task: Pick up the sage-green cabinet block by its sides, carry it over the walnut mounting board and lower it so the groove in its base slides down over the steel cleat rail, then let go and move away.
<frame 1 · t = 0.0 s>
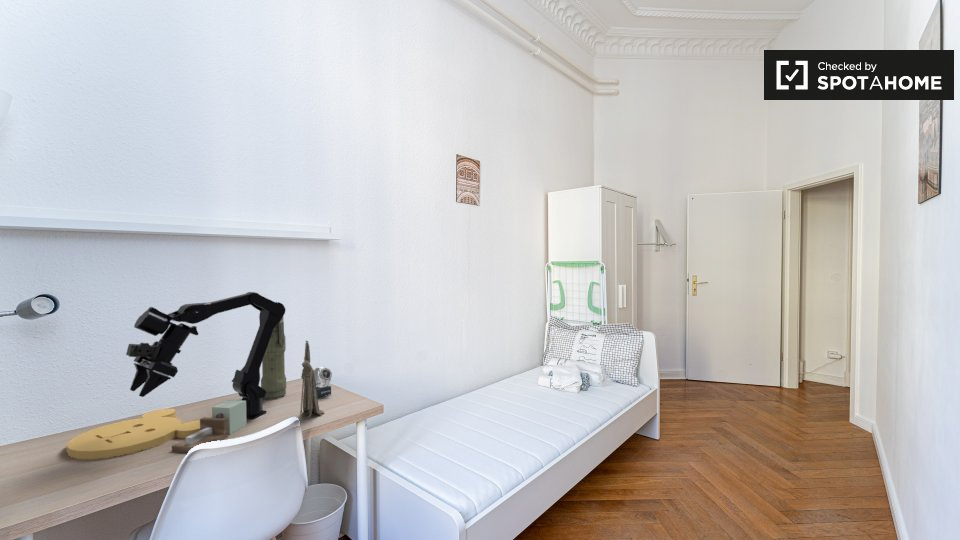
hand: (136, 393, 121), 15 cm above the table, tool tilted 35°, fingers open, 9 cm apart
decorative plaque: (136, 439, 127), on the table
watch: (321, 395, 167), on the table
wizard figurine: (310, 414, 146), on the table
cleat board: (200, 443, 122), on the table
cabinet block: (229, 429, 132), on the table
thermos: (273, 396, 167), on the table
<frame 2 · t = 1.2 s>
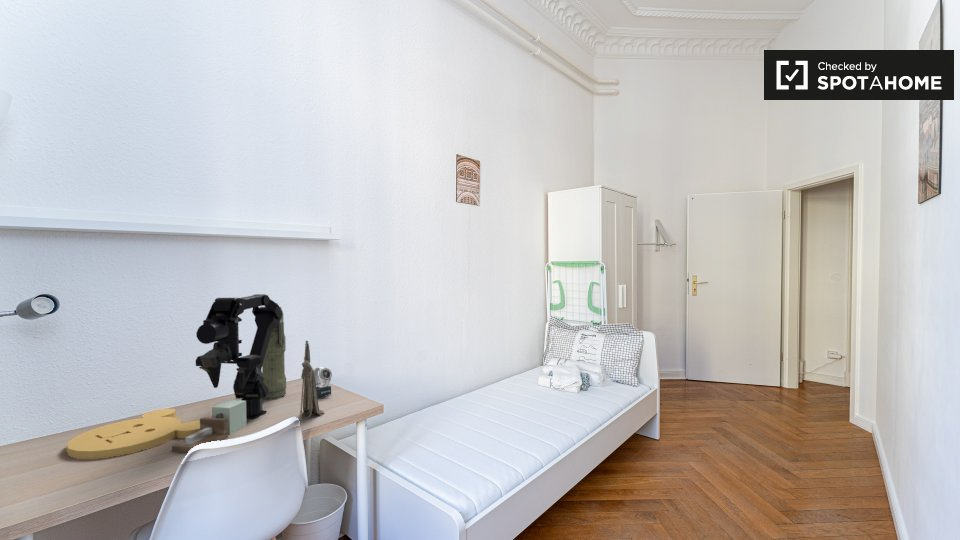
hand: (228, 388, 132), 13 cm above the table, tool pointing down, fingers open, 9 cm apart
nothing on the table moved.
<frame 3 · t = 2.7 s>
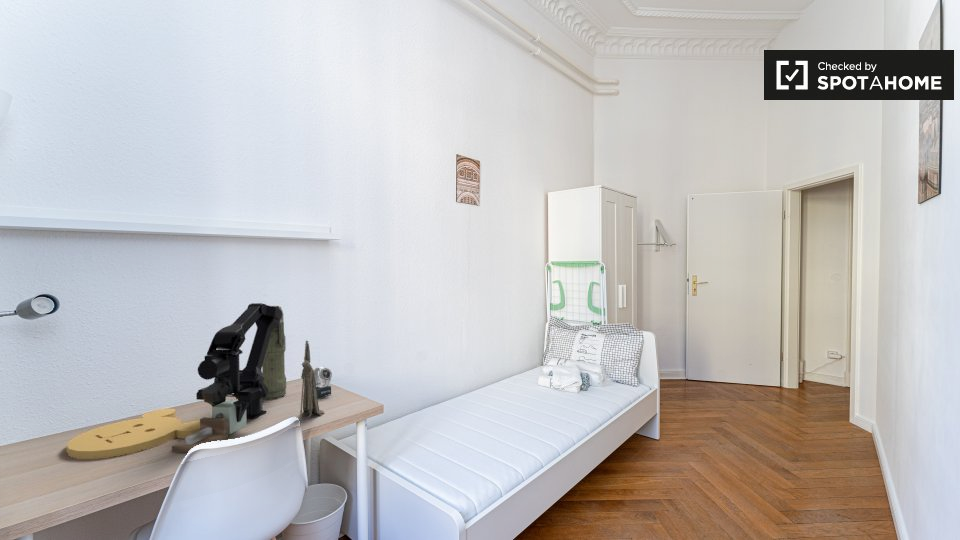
hand: (229, 421, 132), 3 cm above the table, tool pointing down, fingers closed on cabinet block, 6 cm apart
cabinet block: (229, 429, 132), on the table, touching gripper
everything else where it was.
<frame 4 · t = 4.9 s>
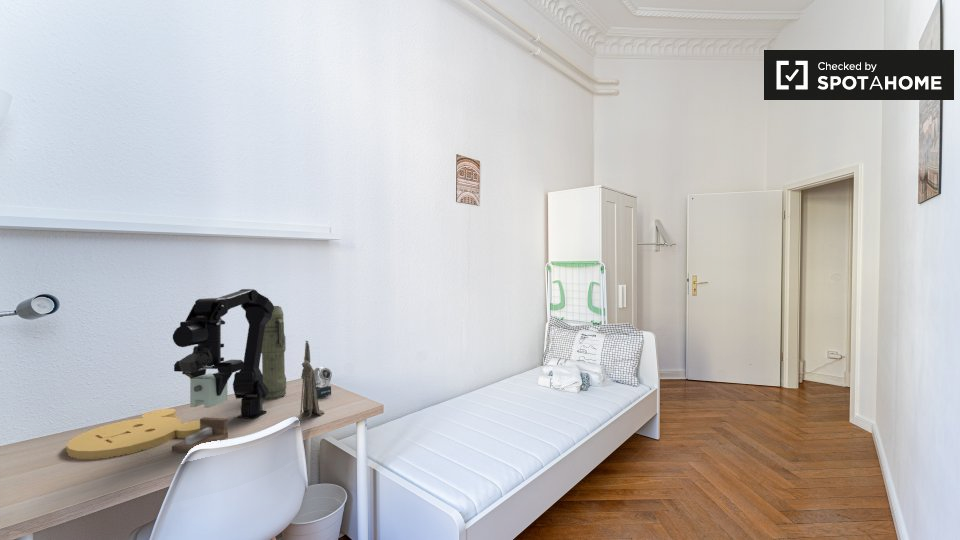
hand: (209, 395, 125), 13 cm above the table, tool pointing down, fingers closed on cabinet block, 6 cm apart
cabinet block: (209, 403, 125), point 11 cm above the table, touching gripper
everything else where it was.
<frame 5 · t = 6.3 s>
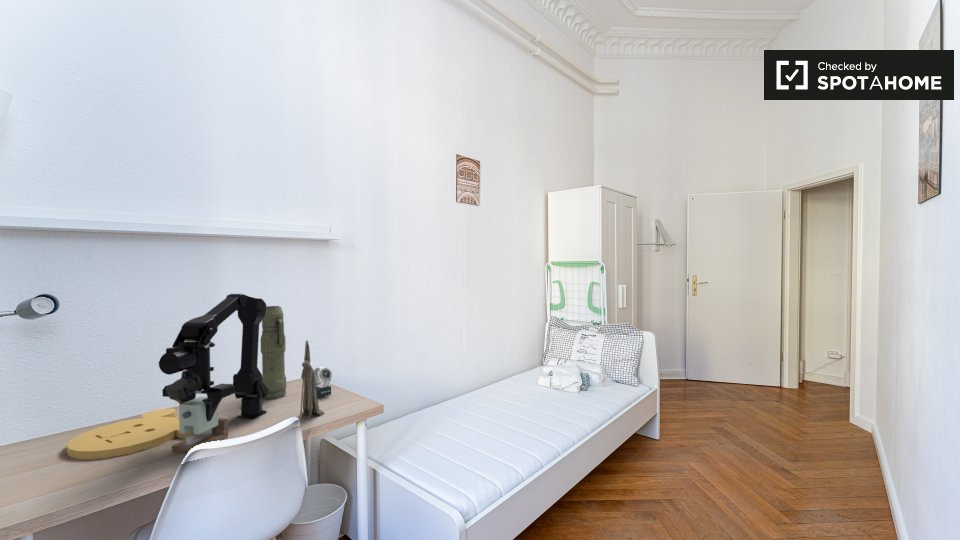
hand: (199, 420, 121), 7 cm above the table, tool pointing down, fingers closed on cabinet block, 6 cm apart
cabinet block: (199, 429, 121), point 4 cm above the table, touching gripper
everything else where it was.
when the fingers open (4 cm above the table, at t = 7.4 s): cabinet block stays where it is, resting on cleat board.
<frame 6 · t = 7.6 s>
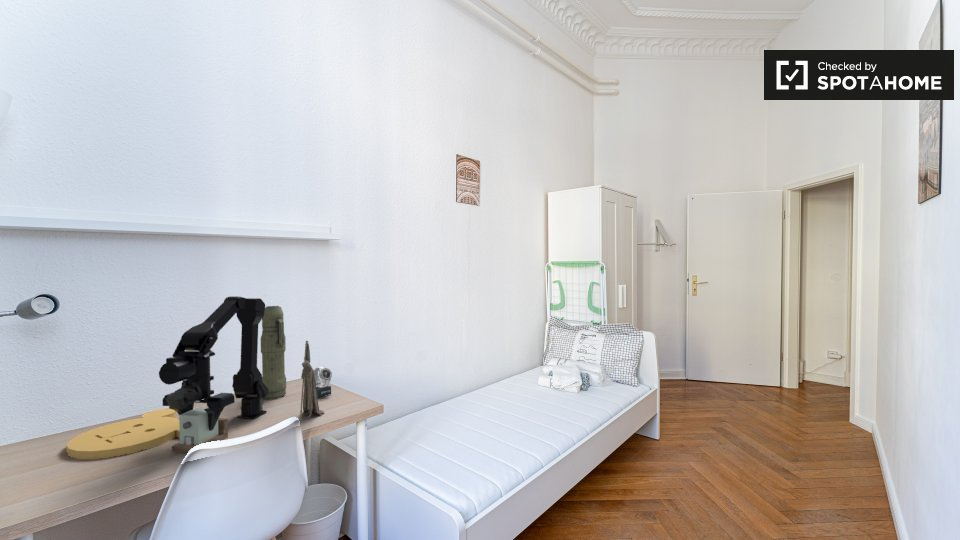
hand: (199, 429, 121), 4 cm above the table, tool pointing down, fingers open, 7 cm apart
cabinet block: (199, 439, 121), point 1 cm above the table, touching cleat board
everything else where it was.
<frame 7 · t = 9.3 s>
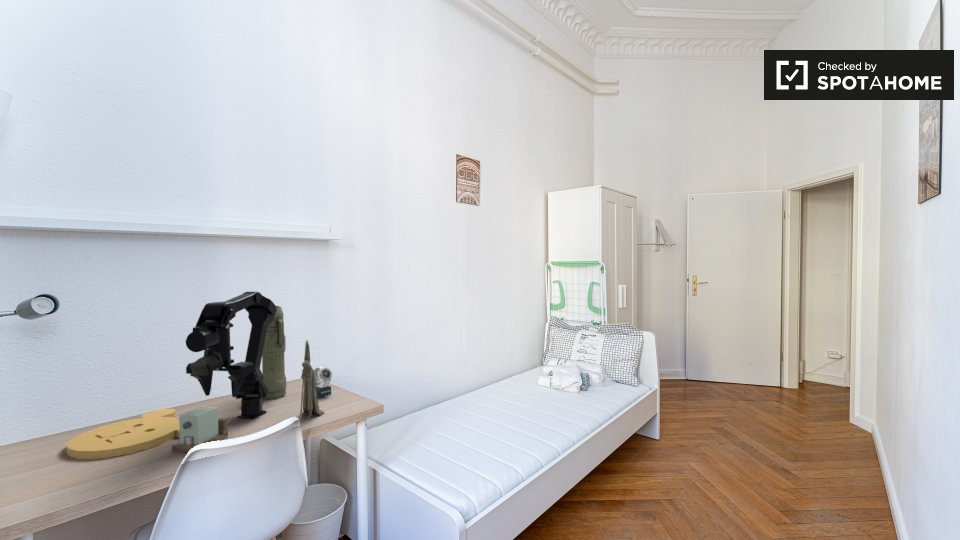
hand: (220, 396, 128), 12 cm above the table, tool pointing down, fingers open, 9 cm apart
nothing on the table moved.
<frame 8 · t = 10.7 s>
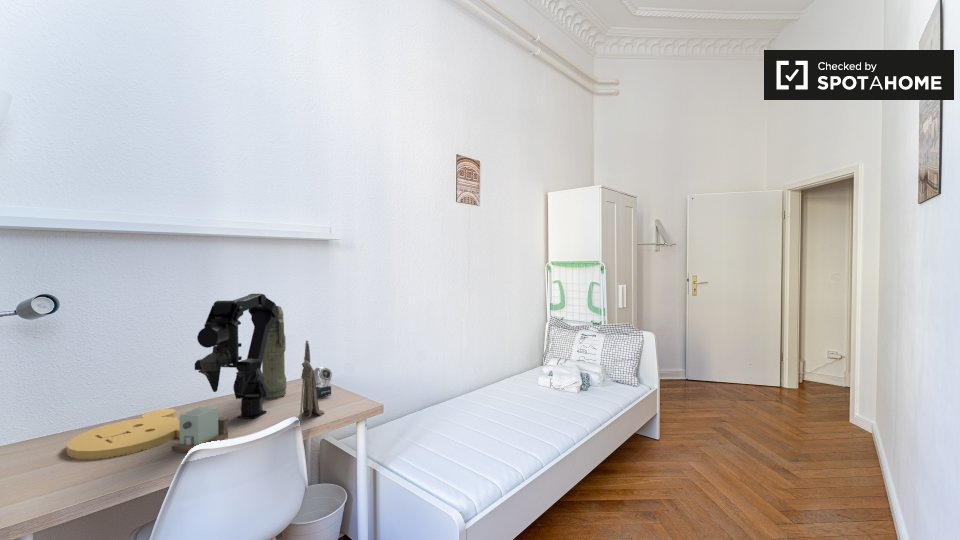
hand: (228, 392, 131), 12 cm above the table, tool pointing down, fingers open, 9 cm apart
nothing on the table moved.
at the end: cabinet block 0.1 cm off-centre on the cleat board, point 1.5 cm above the cleat board's base; cabinet block tilted 0°; the gripper is holding nothing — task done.
